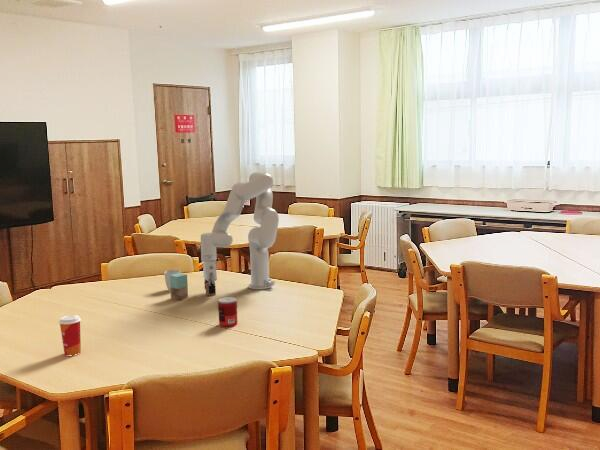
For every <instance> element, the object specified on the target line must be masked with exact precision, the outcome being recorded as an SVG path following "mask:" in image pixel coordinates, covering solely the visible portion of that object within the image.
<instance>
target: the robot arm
mask: <svg viewBox="0 0 600 450" xmlns="http://www.w3.org/2000/svg"><path fill="white" fill-rule="evenodd" d="M273 185H274V179H273V177H272V175H271V174H269V173H267V172H261V171H257V172H256V171H255V172H252V173H251V174H250V175H249V176H248V181H247V182H236V183H234V184H233V185H232V186H231V190H230V192H229V195H228V198H227V201H226V204H225V206H224V209H223V211H222V212H221V213H220V214H219V216H218V217H217V219H216V221H214V225H213V228H212V230H211V232H204V233H202V234H200V256H201V258H200V259H201V262H202V268H203V271H202V274H203V278H204V284H205V283H208V282H209V294H213V293H215V286H216V282H215V281H217V280H218V275H217V266H216V265H217V264H216V261H217V248H227V247H229V246H230V245H232V243H233V236H232V235H231V234H230V233H228V232H227V230H228V228H229V226H230V224H232V222H233V221H235V220H236V219H237V218H239V217H240V216H241V213H242V211H243V208H244V205H245V202H246V201H250V200H253V199H254V198H255V200H256V201H255V207H254V212H253V220H254V222H255V224H258V225H260V226H255V227H253V228H251V229H250V230H249V232H248V235H247V240H248V241H247V242H248V246H249V247H248V248H249V256H250V257H249V258H250V260H249V261H250V279H251V280H250V283H249V284H248V285H247V286H248V288H249V289H252V290H267V289H271V288H273V286H275V284H276V281H274V280H272V278H271V277H270V263H269V262H270V259H269V258H270V257H269V255H270V254H269V248H271V247H273V246H274V244H275V242H276V238H277V234H278V229H279V223H280V222H279V221H280V219H279V218H280V217H279V213H278V212H277V211H276V209H274V208H273V200H274V195H273V194H274V193H273V190H272V187H273ZM210 282H211V283H210ZM204 289H205V290H206V288H205V287H204Z"/></svg>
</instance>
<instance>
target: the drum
mask: <svg viewBox="0 0 600 450" xmlns="http://www.w3.org/2000/svg"><path fill="white" fill-rule="evenodd" d="M210 283H211V282H210ZM216 286H217V285H215V293H213V294H209V282H208V283H204V289H205V288H206V289H205V296H206V297H215V296H217V289H216Z"/></svg>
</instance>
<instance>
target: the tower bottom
mask: <svg viewBox="0 0 600 450" xmlns="http://www.w3.org/2000/svg"><path fill="white" fill-rule="evenodd" d="M188 298H189V290H188V287H184V288H180V289H176V288H172V287H171V291H170V300H171V301H180V302H181V301H184V300H186V299H188Z"/></svg>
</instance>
